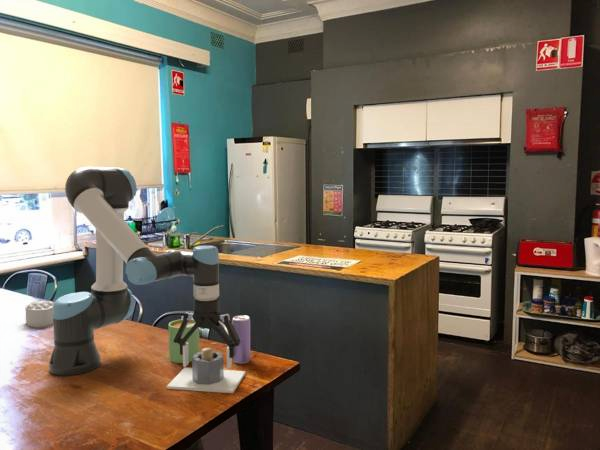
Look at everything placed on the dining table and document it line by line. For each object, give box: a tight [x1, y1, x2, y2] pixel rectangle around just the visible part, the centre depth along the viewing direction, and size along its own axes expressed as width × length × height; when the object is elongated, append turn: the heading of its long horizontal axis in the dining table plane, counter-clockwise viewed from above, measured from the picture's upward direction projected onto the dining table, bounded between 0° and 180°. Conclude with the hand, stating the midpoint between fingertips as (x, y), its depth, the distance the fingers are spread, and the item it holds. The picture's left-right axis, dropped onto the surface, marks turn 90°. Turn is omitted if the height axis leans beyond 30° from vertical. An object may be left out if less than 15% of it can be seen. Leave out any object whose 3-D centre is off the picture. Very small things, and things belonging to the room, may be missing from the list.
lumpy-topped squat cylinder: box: [25, 300, 54, 328], centre depth 202 cm, size 10×13×9 cm
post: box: [201, 347, 214, 360], centre depth 146 cm, size 3×3×9 cm
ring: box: [191, 350, 225, 385], centre depth 146 cm, size 9×9×7 cm
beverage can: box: [231, 314, 251, 365], centre depth 161 cm, size 6×6×15 cm
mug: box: [168, 318, 201, 364], centre depth 165 cm, size 13×10×12 cm
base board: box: [166, 366, 246, 394], centre depth 146 cm, size 20×14×1 cm
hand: (207, 366), depth 146 cm, fingers open, 13 cm apart
